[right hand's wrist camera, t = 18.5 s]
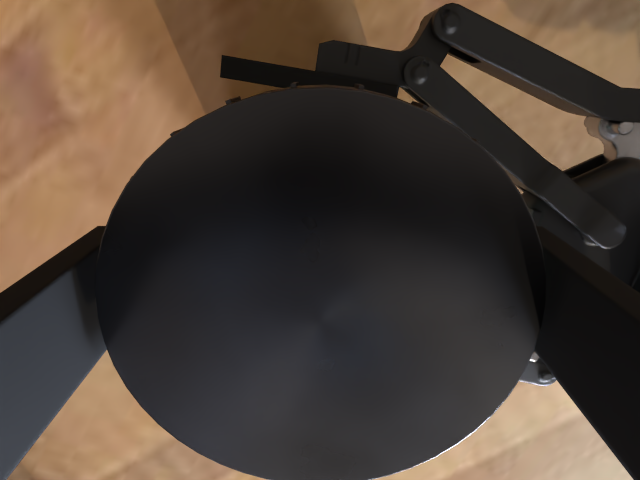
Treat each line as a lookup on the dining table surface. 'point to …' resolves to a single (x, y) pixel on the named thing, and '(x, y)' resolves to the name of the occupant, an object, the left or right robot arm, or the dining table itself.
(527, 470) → the dining table surface
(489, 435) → the dining table surface
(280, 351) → the lid
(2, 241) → the dining table surface
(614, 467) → the dining table surface
